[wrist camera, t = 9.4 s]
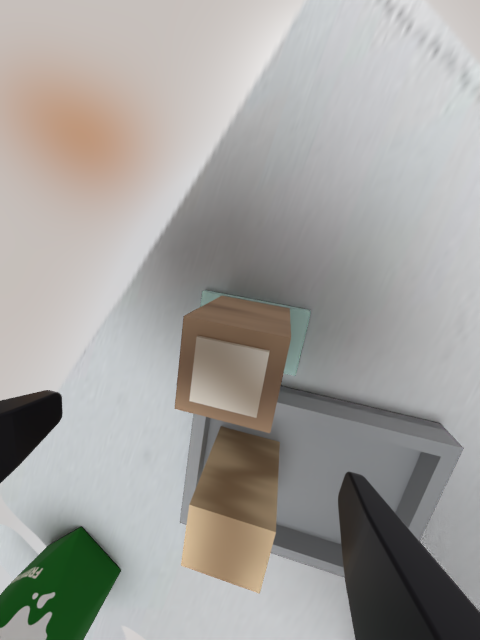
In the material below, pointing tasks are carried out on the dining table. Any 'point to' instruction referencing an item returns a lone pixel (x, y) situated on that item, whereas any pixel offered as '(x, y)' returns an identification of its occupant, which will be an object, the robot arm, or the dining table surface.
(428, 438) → the tray
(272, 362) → the walnut box
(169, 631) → the dining table surface
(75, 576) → the milk carton
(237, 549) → the oak box
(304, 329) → the teal pad
